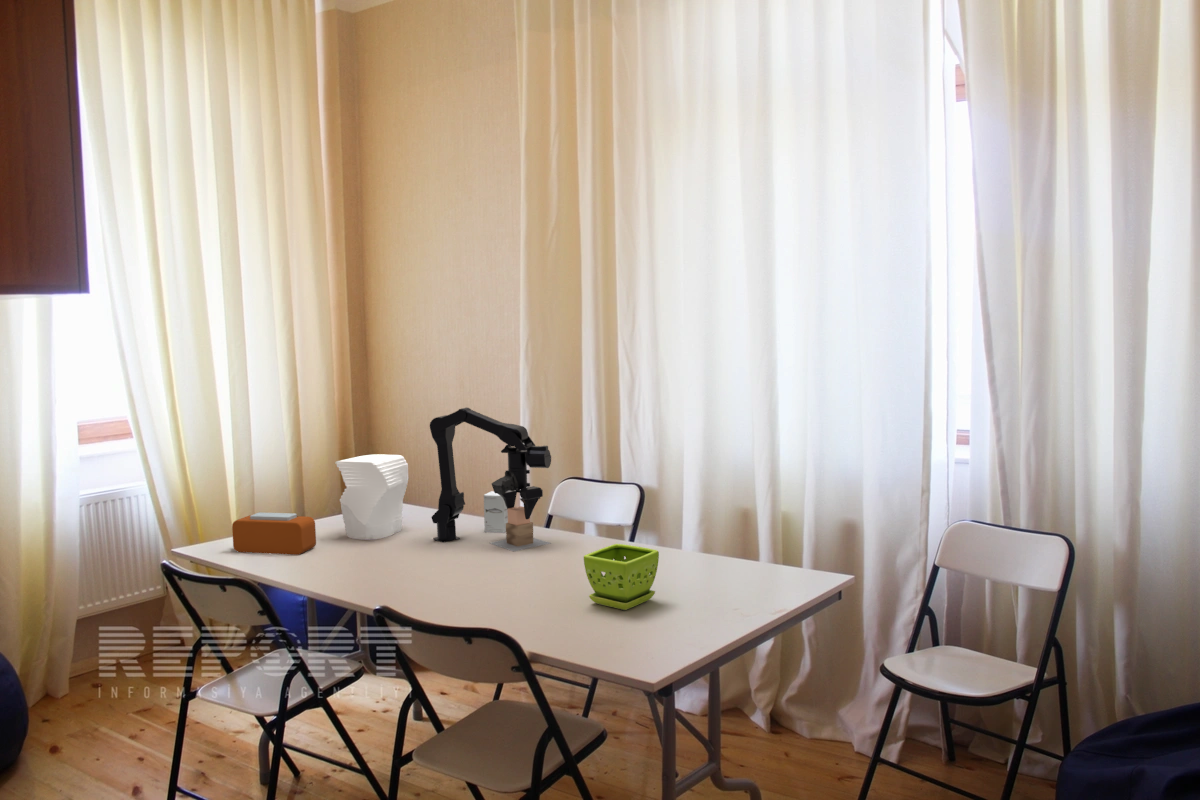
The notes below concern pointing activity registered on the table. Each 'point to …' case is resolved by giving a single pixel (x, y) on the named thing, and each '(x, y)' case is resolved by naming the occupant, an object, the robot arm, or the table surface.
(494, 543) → the felt mat
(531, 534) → the block
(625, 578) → the flower pot
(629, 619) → the table surface
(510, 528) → the tower top
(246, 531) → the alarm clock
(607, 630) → the table surface
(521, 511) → the terracotta block
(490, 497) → the supplement box
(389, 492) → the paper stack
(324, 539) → the table surface
